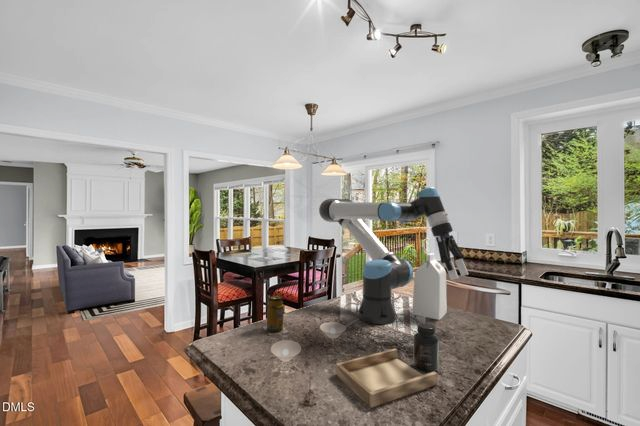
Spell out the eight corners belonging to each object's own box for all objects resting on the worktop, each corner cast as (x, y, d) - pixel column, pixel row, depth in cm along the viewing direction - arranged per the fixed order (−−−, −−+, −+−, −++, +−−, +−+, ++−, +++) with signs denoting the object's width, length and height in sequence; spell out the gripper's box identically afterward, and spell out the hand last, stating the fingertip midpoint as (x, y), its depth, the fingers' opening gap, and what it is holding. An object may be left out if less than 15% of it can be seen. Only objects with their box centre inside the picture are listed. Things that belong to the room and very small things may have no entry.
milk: (420, 307, 146) (421, 251, 146) (446, 312, 139) (448, 253, 139) (411, 314, 136) (413, 254, 136) (439, 319, 130) (440, 257, 129)
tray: (395, 358, 96) (395, 348, 96) (436, 384, 82) (437, 373, 82) (335, 374, 86) (335, 363, 86) (370, 408, 72) (371, 395, 72)
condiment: (281, 324, 122) (281, 293, 122) (288, 332, 114) (289, 299, 114) (262, 327, 119) (263, 296, 119) (269, 336, 111) (269, 302, 111)
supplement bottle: (443, 369, 90) (444, 327, 90) (427, 375, 86) (428, 332, 86) (423, 359, 96) (424, 319, 95) (408, 365, 92) (408, 324, 92)
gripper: (438, 220, 113) (460, 278, 107) (458, 222, 132) (478, 271, 127) (419, 227, 117) (439, 283, 112) (441, 228, 137) (459, 276, 131)
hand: (460, 277), depth 119 cm, fingers open, 13 cm apart
